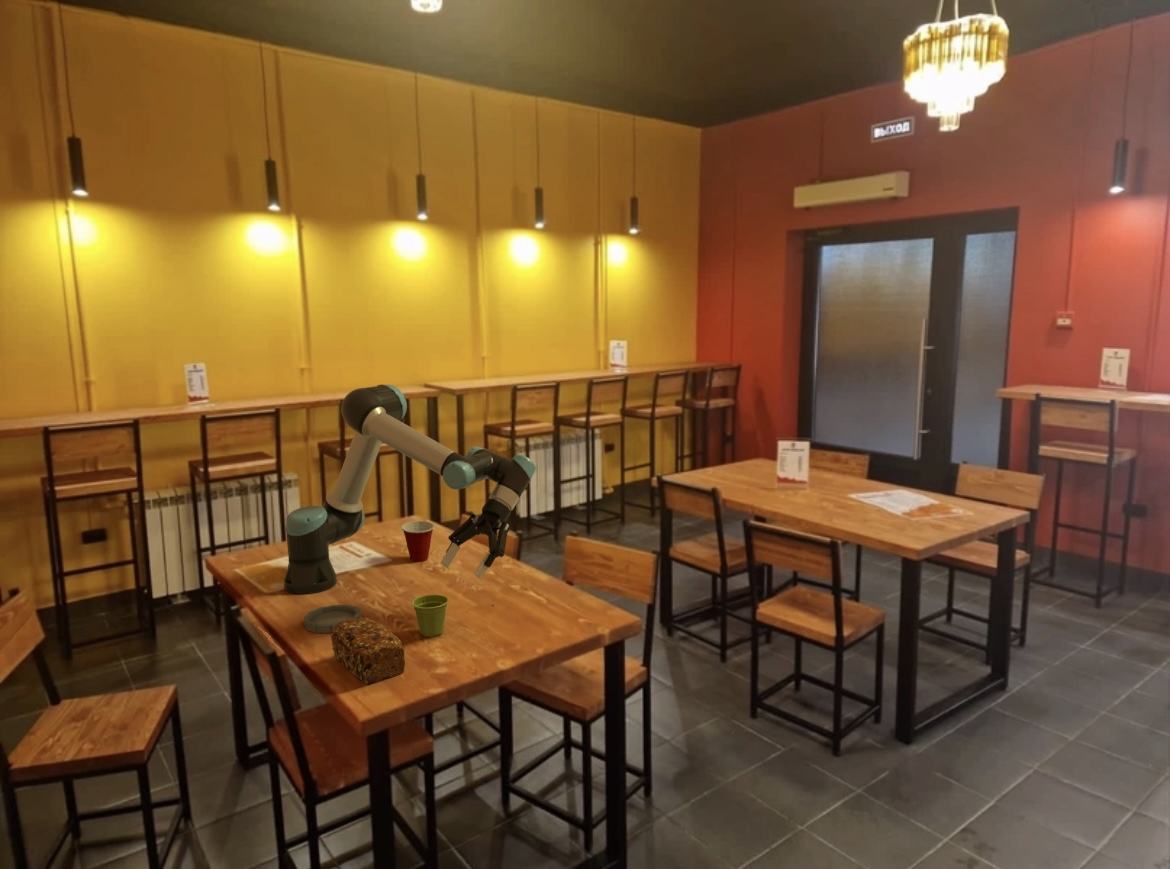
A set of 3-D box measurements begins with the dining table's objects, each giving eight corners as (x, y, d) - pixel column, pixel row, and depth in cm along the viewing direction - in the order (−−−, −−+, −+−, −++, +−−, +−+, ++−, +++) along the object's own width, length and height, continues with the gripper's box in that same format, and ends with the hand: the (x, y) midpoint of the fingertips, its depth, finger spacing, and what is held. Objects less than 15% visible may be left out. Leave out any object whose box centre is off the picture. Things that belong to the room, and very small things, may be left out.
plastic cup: (408, 567, 255) (407, 531, 253) (398, 558, 265) (397, 523, 263) (440, 561, 261) (439, 526, 259) (429, 552, 270) (428, 519, 268)
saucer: (296, 633, 204) (296, 625, 204) (315, 611, 219) (315, 604, 218) (351, 632, 204) (351, 625, 204) (367, 611, 218) (366, 604, 218)
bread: (331, 659, 189) (329, 620, 188) (373, 647, 196) (371, 609, 194) (364, 688, 175) (361, 646, 173) (407, 674, 182) (406, 633, 180)
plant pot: (409, 640, 200) (408, 608, 198) (417, 625, 209) (415, 594, 207) (446, 640, 200) (445, 607, 198) (452, 625, 209) (451, 594, 208)
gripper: (539, 519, 213) (500, 588, 204) (477, 505, 229) (438, 568, 220) (525, 504, 208) (484, 574, 199) (462, 491, 224) (422, 554, 215)
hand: (460, 571), depth 209 cm, fingers open, 13 cm apart
